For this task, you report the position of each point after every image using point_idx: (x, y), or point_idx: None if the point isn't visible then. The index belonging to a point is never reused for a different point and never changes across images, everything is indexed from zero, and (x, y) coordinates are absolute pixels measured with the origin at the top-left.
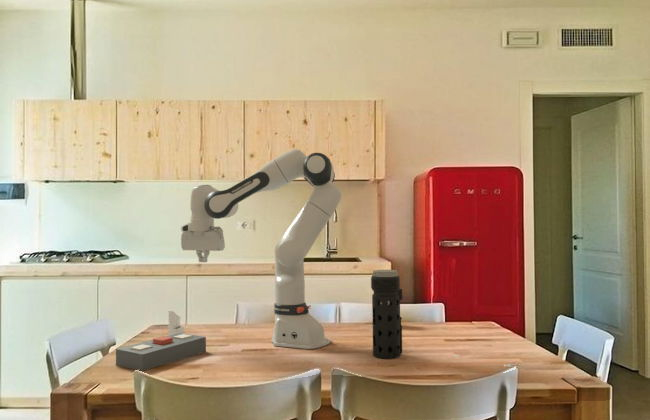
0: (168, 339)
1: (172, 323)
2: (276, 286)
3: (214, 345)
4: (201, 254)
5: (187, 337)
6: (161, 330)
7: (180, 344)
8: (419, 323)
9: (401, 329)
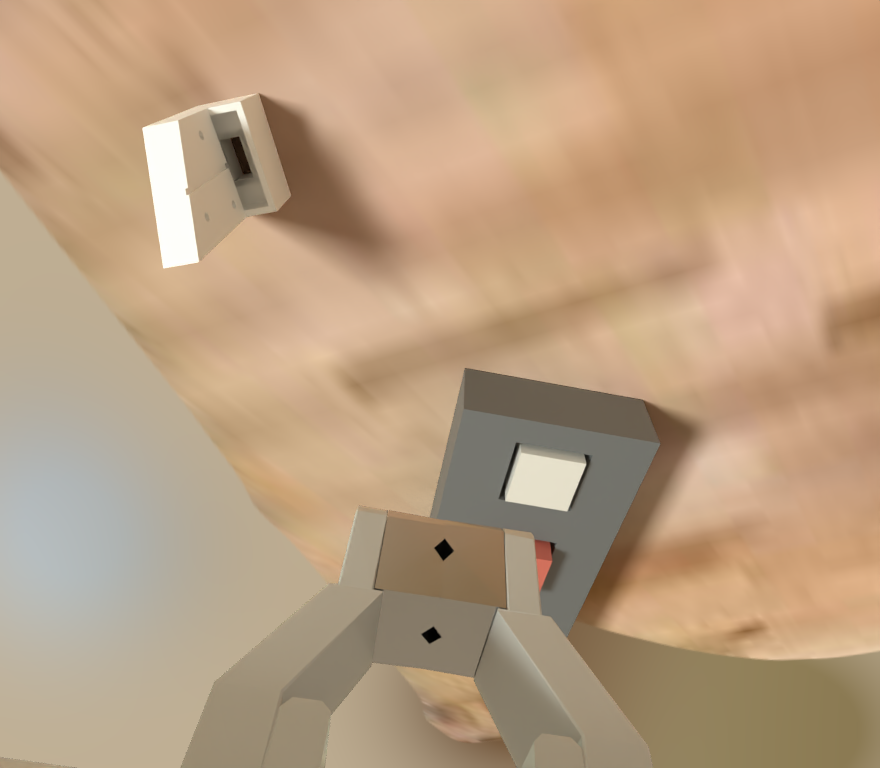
0: (545, 574)
1: (228, 229)
2: None
3: (631, 293)
4: (320, 672)
5: (576, 484)
6: (12, 49)
7: (603, 557)
8: None
9: None
